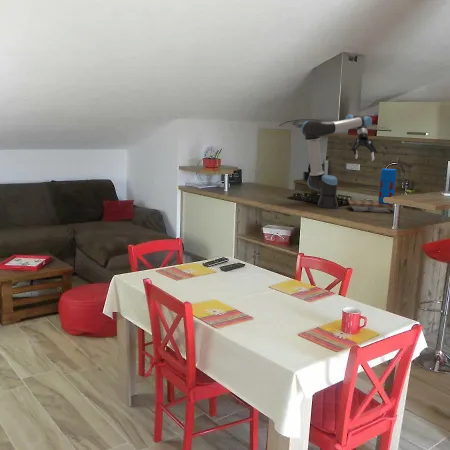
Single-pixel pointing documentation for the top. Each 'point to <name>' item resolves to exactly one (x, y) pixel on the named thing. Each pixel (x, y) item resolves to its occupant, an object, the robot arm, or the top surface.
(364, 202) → the levelling board
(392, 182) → the blue tall block
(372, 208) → the tribrach base
